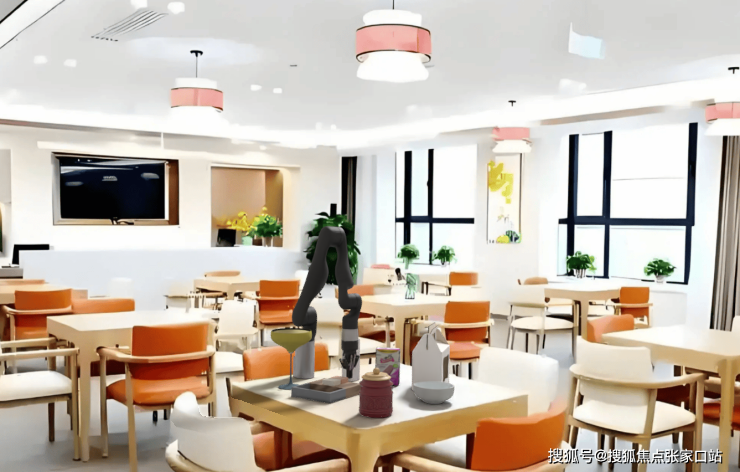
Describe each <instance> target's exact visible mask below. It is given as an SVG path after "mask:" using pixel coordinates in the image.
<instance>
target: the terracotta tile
mask: <svg viewBox="0 0 740 472" xmlns="http://www.w3.org/2000/svg"><path fill="white" fill-rule="evenodd" d="M329 378H334V379H341V384H343V383H347V382H349V381H348V377H342V375H334V376H331V377H329Z"/></svg>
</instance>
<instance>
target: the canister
mask: <svg viewBox="0 0 740 472" xmlns="http://www.w3.org/2000/svg"><path fill="white" fill-rule="evenodd" d="M361 379H362V380H359V384H360V386H361V388H360V391H359V393H360V394H358V395H359V402H358V403H359V404H358V412H359V415H360V416H363V417H365V418H374V419H381V418H382V419H383V418H389V417H391V416H392V415H393V412H394V407H393V401H394V400H393V398H394V397H393V396H394V395H393V394H394V391H393V386H394V385H393V382H392V381H390V379H391V376H389V375H388V374H387V373H384V372H380V370H379V368H375V367H374V368H373V369H372V371H369V372H366V373H364V374H363V375H361Z"/></svg>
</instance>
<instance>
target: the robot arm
mask: <svg viewBox="0 0 740 472" xmlns="http://www.w3.org/2000/svg"><path fill="white" fill-rule="evenodd" d="M329 248H335V250H336V252H337V253H336V254H337V258H336V259H337V260H336V264H335V267H334V269H335V270H334V275H335V279H336V283H337V292H338V293H337V294H338V295H337V303H338V306H339V308H341V309H342V310H344V311H349V312H348V313H347V314H346V315H345V314H344V315H343V316H342V318H341V334H340V336H341V337H340V338H341V340H340V341H341V344H340V348H341V351H342V350H343V357H342V356H341V358H339V359H338V361H339V363H340V366H341V368H342V367H343V369H346V377H348V378H349V379H350V378H352V376H353V369H354V367H356V365H357V362H358V360H359V358H360V359H361V355H360V356H359V355H357V352H356V350H358V338H359V318H360V314H361V311H362V306H363V298H362V296H361V294H360V293H357V292H355V293H348V291H349V290H350V289H353V287H354V280H353V276H352V273H351V268H350V264H349V262H350V261H349V255H348V254H349V252H348V244H347V236H346V233H345V230H344V229H343V228H342V227H340V226H329V225H328V226H327V225H326V226H323V227H322V228H321V229H320V231H319V234H318V236H317V240H316V246H315V251H314V253H313V257H312V260H311V263H310V267H309V269H308V271H307V275H306V277H305V281H304V284H303V286H302V289H301V293H300V295H299V296H298V297H299V298H298V299H297V301H296V303H295V306H294V308H293V310H292V313H291V321H292V322H291V323H292V324H293V325H294V326H295V327H296V328H300V327H301V328H303V329H309V330H311V332H312V338H311V340H310V341H309V342H308V343H306V344H304V345H302V346H300V347H299V348H297V349H296V350H295V351H294V355H293V357H292V361H293V362H292V377H294V378H297V379H312V378H315V361H316V359H315V349H316V346H315V341H316V336H317V328H318V313H317V310H316V308H315V307H314V306H312V305H311V303H312V302H313V301H314V299H315V298H317V296H318V295H319V294H320V293H321V292H322V290H323V289H324V287H325V285H326V283H327V281H328V276H329V267H328V262H327V254H328V250H329Z"/></svg>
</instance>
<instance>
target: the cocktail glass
mask: <svg viewBox="0 0 740 472" xmlns="http://www.w3.org/2000/svg"><path fill="white" fill-rule="evenodd" d="M311 338H312V332H311V330H309V329H303V327H301V328H300V327H282V328H274V329H271V330H270V339H271V341H272V342H273V343H274V344H276V345H278V346H280V347H281V348H283V349H285V350H286V351H287V352H288V354H289V355H290V356H289V361H290V362H289V367H290V368H289V381H288V383H285V384H280V385H278V386H277V388H278V389H281V390H286V391H291V387H294V386H297V385H300V384H297V383H293V378H292V377H293V362H292V361H293V357H292V354H295V350H296V349H297V348H299V347H300V346H302V345H304V344H306V343H308V342H309V341H310V340H311Z"/></svg>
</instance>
